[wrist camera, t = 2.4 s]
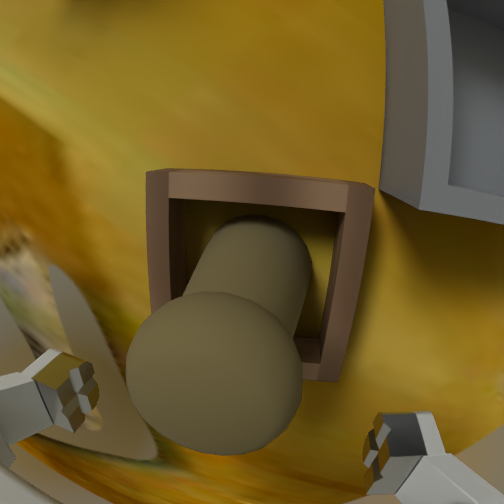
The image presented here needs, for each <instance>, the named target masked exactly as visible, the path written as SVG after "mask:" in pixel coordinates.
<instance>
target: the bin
mask: <svg viewBox="0 0 504 504" xmlns="http://www.w3.org/2000/svg"><path fill="white" fill-rule="evenodd" d="M384 16H385V41H386V90H385V117H384V134H383V148H382V160H381V171H380V181H379V189H380V190H382V191H384V192H386V193H388V194H390V195H392V196H394V197H396V198H398V199H400V200H401V201H403V202H405V203H407V204H409V205H411V206H413V207H415V208H417V209H419V210H424V211H431V212H437V213H443V214H449V215H455V216H461V217H466V218H472V219H477V220H482V221H488V222H493V223H498V224H503V225H504V0H384Z"/></svg>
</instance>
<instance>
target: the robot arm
mask: <svg viewBox="0 0 504 504" xmlns="http://www.w3.org/2000/svg"><path fill="white" fill-rule="evenodd" d="M93 374H94V369H93V366H92V364H91V363H89V362H88V361H85V360H83V359H80V358H77V357H75V356H72V355H70V354H67V353H64V352H62V351H59V350H57V349H54V348H53V349H48V350H47V351H46V352H45V353H44V354H42V355H41V356H40V357H39V358H38V359H37V360H35V361H34V362H33V363H32V364H31V365H29V366H28V367H27V368H26V369H25V370H24V371H22V372H21V373H19V372H15V373H11V374H7V375H3V376H0V504H63V503H61V502H59V501H58V500H56V499H54V498H53V497H51V496H49V495H48V494H46V493H45V492H43V491H41V490H40V489H38V488H37V487H35V486H34V485H32V484H30V483H29V482H27V481H26V480H25V479H23V478H22V477H20V476H19V475H17V474H16V473H15V472H13V471H12V470H11V469H9V467H10V466H11V464H12V463H13V462H14V461H15V460H16V459H15V455H14V453H13V452H12V450H11V449H10V447H9V445H12V444H14V443H16V442H18V441H21V440H23V439H25V438H27V437H29V436H32V435H34V434H36V433H38V432H40V431H42V430H44V429H46V428H49V427H51V426H52V425H53V424H55V425H57V426H59V427H62V428H64V429H66V430H68V431H70V432H72V433H75V431H76V430H77V429H78V428H79V427H80V425H81V424H82V423H83V422H84V420H85V413H88V412H90V411H92V410H93V409H94V408H95V406H96V405H97V402H98V399H99V387H98V384H97V382H96V381H95V380H94V379H93V377H92V376H93ZM373 425H374V429H373V430H371V431H370V432H368V435H367V437H366V439H365V443H364V448H363V463H364V464H365V465H366V467H367V468H368V471H367V472H366V474H365V476H364V477H365V489H366V495H378V494H379V495H380V494H395V496H396V497H397V499H398V500H399V501H400V503H401V504H504V495H503V494H501V493H500V492H499V491H497V490H496V489H495V488H494V487H492V486H491V485H490V484H489V483H487V482H486V481H485V480H483V479H482V478H481V477H480V476H478V475H477V474H476V473H475V472H473V471H472V470H471V469H470V468H468V467H467V466H466V465H465V464H463V463H462V462H461V461H459V460H458V459H457V458H456V457H455V456H454V455H452V454H451V453H447V454H446V452H445V449H444V446H443V443H442V440H441V437H440V434H439V431H438V428H437V426H436V423H435V420H434V417H433V415H432V413H431V412H430V411H418V412H379V413H378V414H377V415H376V417H375V419H374V421H373Z"/></svg>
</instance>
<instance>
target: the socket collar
mask: <svg viewBox="0 0 504 504" xmlns="http://www.w3.org/2000/svg"><path fill="white" fill-rule="evenodd" d="M374 194H375V188H373V187H371V186H369V185H367V184H365V183H359V182H351V181H343V180H335V179H326V178H316V177H306V176H296V175H284V174H272V173H259V172H243V171H226V170H204V169H168V168H166V169H160V170H154V171H148V172H146V232H147V257H148V275H149V289H150V302H151V314H152V313H154V312H155V311H156V310H158V309H159V308H161V307H162V306H163V305H165V304H166V303H167V302H169V301H171V300H174V299H176V298H178V297H182V296H183V293H184V291H185V289H186V287H187V277H186V199H198V200H213V201H228V202H241V203H254V204H266V205H277V206H288V207H298V208H309V209H318V210H328V211H337V212H338V216H337V225H336V233H335V241H334V248H333V255H332V263H331V269H330V276H329V283H328V289H327V295H326V301H325V307H324V313H323V319H322V324H321V330H320V335H319V339H314V338H304V337H293V341H294V343H295V346H296V348H297V351H298V354H299V357H300V360H301V362H302V365H303V380H313V381H326V382H338V379H339V376H340V372H341V368H342V364H343V360H344V357H345V353H346V349H347V344H348V340H349V336H350V332H351V328H352V323H353V319H354V314H355V309H356V305H357V300H358V295H359V290H360V285H361V279H362V274H363V269H364V263H365V257H366V251H367V245H368V238H369V232H370V225H371V218H372V210H373V202H374Z"/></svg>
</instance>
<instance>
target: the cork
mask: <svg viewBox="0 0 504 504" xmlns="http://www.w3.org/2000/svg"><path fill="white" fill-rule="evenodd" d="M311 263H312V261H311V258H310V255H309V252H308V249H307V246H306V244H305V243H304V241H303V240H302V239H301V237H300V236H299V235H298V233H297V232H296V231H295V230H294V229H292V228H291V227H289V226H288V225H287V224H285V223H284V222H282V221H281V220H278V219H275V218H271V217H268V216H265V215H244V216H241V217H238V218H235V219H233V220H230V221H228V222H227V223H225V224H224V225H223V226H221V227H220V228H219V229H218V230H216V231H215V233H214V234H213V236H212V237H211V239H210V240H209V242H208V243H207V245H206V247H205V249H204V251H203V253H202V255H201V257H200V260H199V262H198V264H197V266H196V268H195V270H194V272H193V274H192V276H191V278H190V281H189V283H188V285H187V287H186V289H185V291H184V293H183V296H182V297H178V298H176V299H174V300H171V301H169V302H167V303H166V304H165V305H163V306H162V307H161V308H159V309H158V310H156V311H155V312H154V313H152V314H151V315H150V316H149V317H148V318H147V319H146V320H145V321H144V322H143V323H142V324H141V326H140V328H139V330H138V331H137V333H136V335H135V337H134V339H133V340H132V342H131V345H130V348H129V350H128V353H127V360H126V381H127V387H128V390H129V393H130V396H131V399H132V402H133V404H134V406H135V407H136V409H137V410H138V411H139V413H140V414H141V416H142V417H143V418H144V420H145V421H146V422H147V423H149V424H150V425H151V426H152V427H153V428H154V429H155V430H156V431H158V432H159V433H160V434H161V435H163V436H165V437H166V438H168V439H170V440H172V441H173V442H175V443H177V444H179V445H181V446H184V447H186V448H189V449H192V450H195V451H198V452H201V453H208V454H215V455H222V456H223V455H240V454H246V453H249V452H252V451H255V450H258V449H261V448H263V447H264V446H266V445H267V444H268V443H270V442H271V441H273V440H274V439H275V438H277V437H278V436H279V435H280V434H281V433H282V432H284V431H285V430H286V429H287V427H288V425H289V424H290V422H291V420H292V419H293V417H294V415H295V413H296V411H297V409H298V407H299V404H300V402H301V397H302V384H303V365H302V362H301V360H300V357H299V354H298V351H297V348H296V346H295V343H294V341H293V336H294V333H295V330H296V327H297V323H298V320H299V317H300V314H301V310H302V307H303V304H304V300H305V297H306V294H307V290H308V287H309V284H310V280H311Z"/></svg>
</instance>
